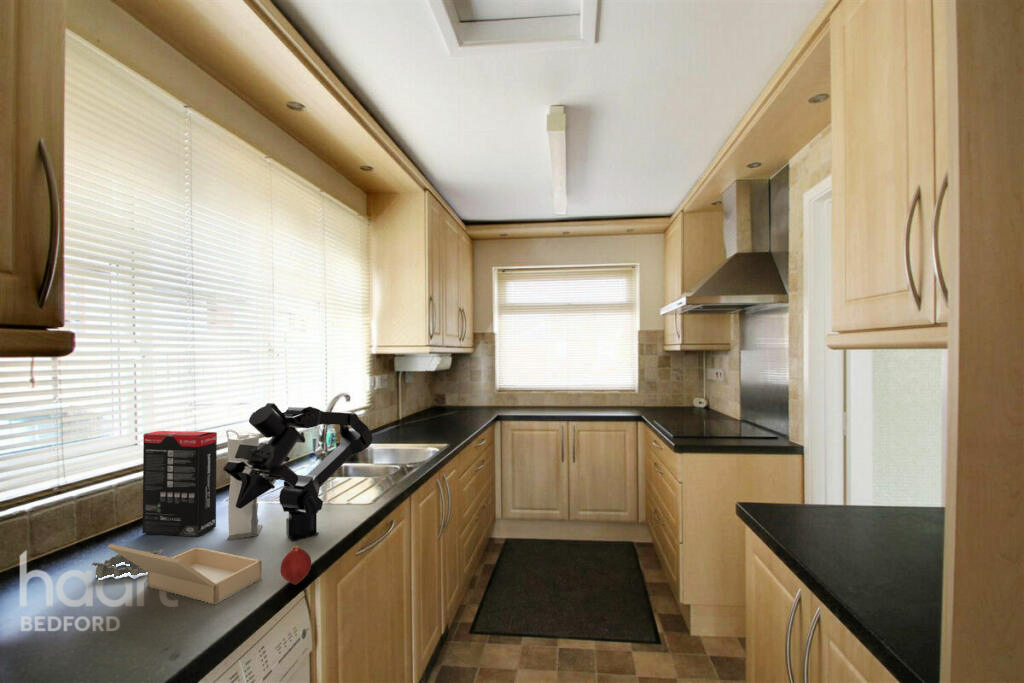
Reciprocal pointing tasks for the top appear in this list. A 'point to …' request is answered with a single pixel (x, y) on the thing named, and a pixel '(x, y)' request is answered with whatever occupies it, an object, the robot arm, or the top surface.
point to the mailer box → (210, 575)
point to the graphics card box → (179, 482)
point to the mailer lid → (162, 565)
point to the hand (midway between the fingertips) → (237, 507)
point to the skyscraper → (246, 517)
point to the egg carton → (109, 569)
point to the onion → (295, 565)
